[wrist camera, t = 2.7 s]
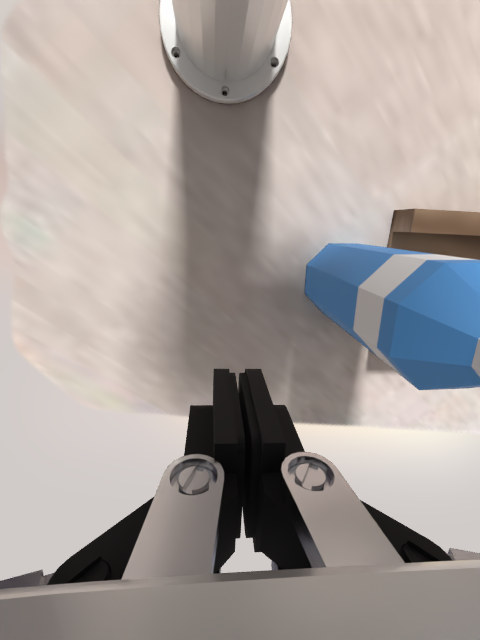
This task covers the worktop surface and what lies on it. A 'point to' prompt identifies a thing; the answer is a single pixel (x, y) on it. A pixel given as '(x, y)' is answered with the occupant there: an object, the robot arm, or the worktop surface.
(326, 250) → the water bottle
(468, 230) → the u rest
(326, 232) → the worktop surface
